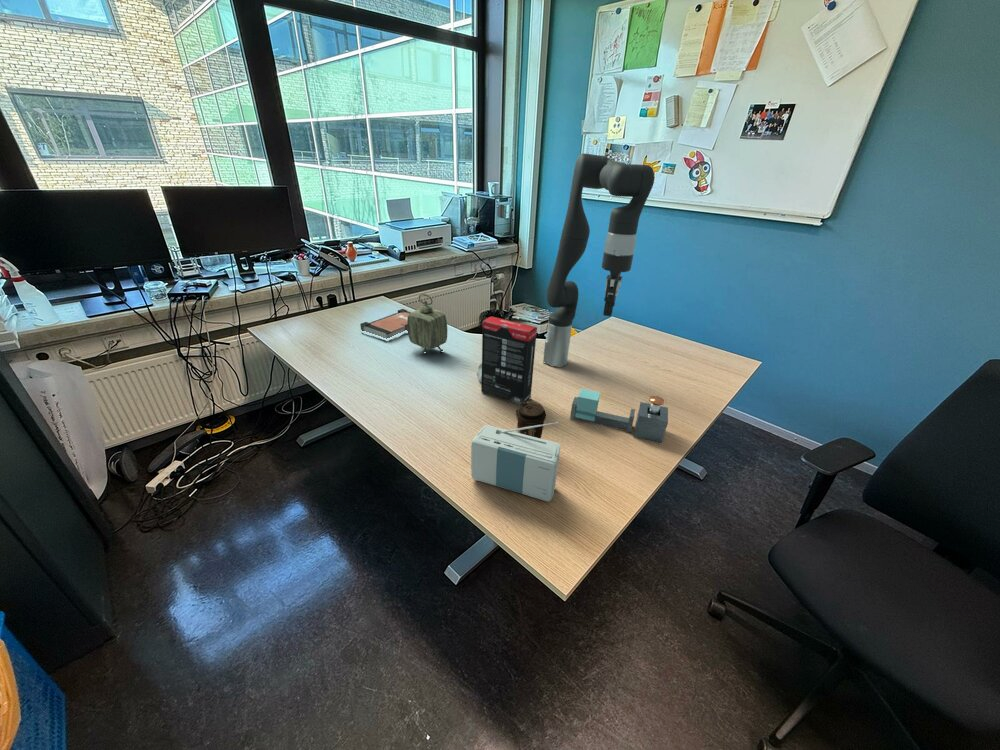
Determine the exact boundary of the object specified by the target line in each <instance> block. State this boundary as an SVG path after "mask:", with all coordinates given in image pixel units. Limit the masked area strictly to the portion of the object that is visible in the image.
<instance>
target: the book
mask: <svg viewBox="0 0 1000 750" xmlns="http://www.w3.org/2000/svg"><path fill="white" fill-rule="evenodd" d="M411 312H412V311H409V310H408V309H404V308H402V309H398V310H397V312H396V313H392V314H390V315H386V316H385V317H382V318H379V319H377V320H376V319H375V320H374V321H371V322H368V321H364V322H361V323H360V324H359V325H360V331H361V330H362V331H366V332H369V333H372V334H375V335H378V336H381V337H383V338H386V339H387V338H390V337H392V336H394V335H396V334H398V333H401V332H403V331H405V330H407V331H408V325H407V319H408V316H409V313H411Z"/></svg>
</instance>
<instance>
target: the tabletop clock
mask: <svg viewBox="0 0 1000 750" xmlns="http://www.w3.org/2000/svg"><path fill="white" fill-rule="evenodd" d="M423 296H425V297H428V298H429V299H430V301H431V302H428V301H427V300H425V301H422V300H421V297H423ZM418 300H419V302H420V303H421V304H422V305H421V306H420V308H419V309H416V310H414V311H410V312H411V313H409V316H408V319H407V325H408V340H409V341H410V343H412V344H413V345H416V346H418V347H421V348H424V350H422V353H423V352H426V351H427V349H430V350H434V349H436V348H438V349H439V352H440V351H443V350H444V349H442V348H441V345H444V344H445V343H447V341H448V322H447V317H446V314H445V313H443V312H442V311H440V310H438V309H435V308H433V307H432V306H431V305H432V304H433V298H432V297H431V296H430V295H428V294H426V293H421V294H419V295H418Z"/></svg>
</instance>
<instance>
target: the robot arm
mask: <svg viewBox="0 0 1000 750" xmlns="http://www.w3.org/2000/svg"><path fill="white" fill-rule="evenodd" d="M654 184H655V171H654V168H652V166H651V165H649V164H648V165H647V164H635V163H633V164H631V163H625V162H620V161H614V160H612V159H611V158H609V156H605V155H600V154H599V155H597V154H591V153H581V154H579V155H578V157H577V159H576V162H575V164H574V169H573V175H572V179H571V187H570V192H569V193H570V194H569V199H568V205H567V210H566V215H565V218H564V223H563V227H562V230H561V235H560V239H559V244H558V251H557V253H556V254H557V256H556V258H555V263H554V265H553V266H554V267H553V270H552V273H551V276H550V278H549V282H548V286H547V288H546V289H547V290H546V302H547V304H548V306H549V307H551V308H553V309H554V308H557V309H556V310H554V311H553V312H551V313H550V314H549V316H548V321H547V322H548V323H547V324H548V325H547V333H546V339H545V342H544V350H543V360H542V363H543V362H545V363H544V364H546V363H547V364H549V365H551V366H550V367H553V366H562V367H565V366H567V364H568V358H569V350H570V342H571V336H572V327H573V321H574V319H575V318H576V313H577V306H578V302H579V288H578V286H577V284H576V282H574V281H572V280H567V278H568V277H569V274H570V272H571V271H572V269H573V268H574V267H575V266H576V264H577V263H578V262H579V261H580V260H581V258H582V257H583V255H584V254H585V253H586V249H587V245H588V242H589V238H590V232H591V230H590V225H589V222H588V221H589V220H588V219H587V216H586V213H585V210H584V205H583V197H582V195H583V189H584V188H585V189H594V190H601V189H605V190H607V191H608V192H609V195H611V196H614V197H623V198H625V197H626V198H630V197H631V199H630V201H629V202H628V204H626V205H623V206H617V207H615V208H613V209H612V210H611V212H610V217H609V223H608V229H607V230H608V231H607V236H606V239H605V243H604V248H603V249H604V250H603V257H602V262H601V268H602V269H603V270H605V271H608V272H609V274H607V275H606V278H605V289H604V294H605V295H604V298H603V302H604V307H603V316H605V317H612V315H613V309H614V307H615V305H616V299H617V296H618V295H619V290H620V288H621V285H622V280H623V276H621V273H627V272H630V271H631V270H632V265H633V264H632V263H633V259H634V253H635V249H636V240H637V233H638V227H639V221H640V217H641V214H642V212H643V209H644V207H645V204H646V202H647V200H648V198H649V197H650V194H651V191H652V189H653V187H654ZM547 364H546V365H547ZM549 365H548V366H549ZM564 365H565V366H564Z"/></svg>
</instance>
